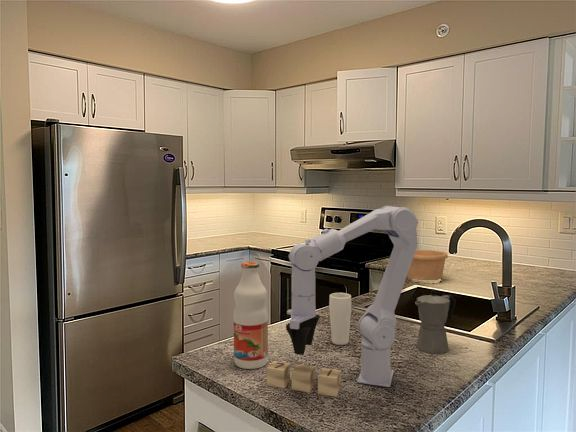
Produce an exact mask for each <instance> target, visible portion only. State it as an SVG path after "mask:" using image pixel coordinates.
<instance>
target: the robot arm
mask: <svg viewBox="0 0 576 432" xmlns="http://www.w3.org/2000/svg"><path fill="white" fill-rule="evenodd" d="M418 225H419V220H418V218H417V216H416V214H415V212H414V211H413V210H412V209H411V208H409V207H406V206H402V207H399V206H392V205H384V206H382V207H380V208H377V209H374V210H372V211H371V212H369V213H367V214H366V215H364V216H362V217H360V218H359V219H357V220H355V221H353V222H351V223H350V224H347V225H346V226H345V227H342V228H341V229H340V230H337V229H334V228H330V229H328V228H324V229H323V230H322V233H321V234H318V235H316V236H314V237H313V238H311V239H310V238H307V239H305V243H301V242H300V243H297V244H295V245H293V246H292V248H291V249H290V251H289V254H288V259H289V260H288V261H289V262H290V264H291V309H288V310H287V311H286V314H287V315H290V319H289V322H288V323H286V325H285V329H286V332H287V333H288V335H289V337H290V340H291V343H292V347H293V352H294V354H295V355H300V356H303V355H304V354H305V351H306V348H307V347H306V346H312V344H313V340H314V335H315V331H316V328H317V325H318V322H319V320H320V318H321V317H320V316H321V315H320V314H317V309H316V308H317V307H316V305H317V304H316V267H317V265H318V264H319V262H322V261H324V260H325V259H327V258H329V257H331V256H333V255H334V254H337V253H339V252H340V251H342V250H344V247H345V245H346V243H348V242H349V241H353V240H354V239H356V238H358V237H360V236H363V235H366V234H367V233H369V232H371V231H374V230H380V231H384V232H385V233H386V234H387V236H388V237H389V239H390V240H391V243H392V244H393V248H392V251H391V254H390V255H389V259H388V262H387V263H386V264H387V265H386V267H385V271H384V273H383V275H382V278H381V282H380V283H379V284H380V285H379V287H378V290H377V291H376V292H377V293H376V294H375V298H374V301H373V303H372V304H370V305H369V306H368V307H367V308H366V310H365V313H364V314H363V315H362V316H361V317H360V318H359V320H358V323H357V330H358V332H359V334H360V335H361V337H362V339H361V346H360V349H361V351H360V352H361V354H360V355H361V356H360V357H361V358H360V361H361V362H360V363H361V364H360V373H359V375H358V377H357V381H356V382H357V383H358V384H359V383H360V384H365V385H371V386H379V387H385V388H390V387H391V384H392V380H393V375H394V369H391V346H392V345H393V344H394V341H395V339H396V326H397V324H398V323H397V322H398V321H397V318H396V314H395V310H396V308H397V305H398V302H399V299H400V296H401V293H402V290H403V287H404V285H405V283H406V279H407V278H408V277H407V274H408V271H409V269H410V266H411V263H412V260H413V257H414V255H415V252H416V250H418V249H417V248H418V243H419V242H418V231H417V227H418Z"/></svg>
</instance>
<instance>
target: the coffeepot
mask: <svg viewBox="0 0 576 432" xmlns="http://www.w3.org/2000/svg"><path fill="white" fill-rule="evenodd" d="M436 294H437V290H436V289H434V288H433V289H430V294H429V295H426V294H425V295H421V296H419V297H416V301H415V302H414V303H415V305H416V306H417V309H418V317H419V321H420V326H419V329H418V330H419V331H418V334H417V340H416V344H415V346H416V348H417V349H418V350H419V351H421V352H423V353H426V354H432V355H439V354H440V355H441V354H446V353H447V352H448V350H449V341H448V336H447V329H446V328H445V324H446V323H447V322H450V321H452V318H453V314H454V311H455V307H456V304H457V303H456V302H457V300H456V298H455V296H454V295H453V294H448V295H447V294H443V295H441V296H440V295H436Z"/></svg>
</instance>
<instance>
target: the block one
mask: <svg viewBox="0 0 576 432" xmlns="http://www.w3.org/2000/svg"><path fill="white" fill-rule="evenodd" d="M341 389H342V370H339V369H331V368H326V367H323V368H322V369H320V371H319V373H318V375H317V394H318V395H323V396H330V397H338V395H339V392H340V391H341Z"/></svg>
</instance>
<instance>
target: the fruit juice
mask: <svg viewBox="0 0 576 432" xmlns="http://www.w3.org/2000/svg"><path fill="white" fill-rule="evenodd" d="M240 269H241V271H242V273H241V276H240V280H239V282H238V284H237V286H236V288H235V289H234V292H233V300H234V304H235V307H234V309H233V361H234V364H235V366H237V368H241V369H245V370H254V369H255V370H256V369H259V368H262V367H264V366H266V365H267V363H268V360H269V326H268V325H269V321H268V320H269V314H268V309H267V305H266V303H267V300H268V299H267V298H268V292H267V289H266V287H265V285H263V283H262V281H261V277H260V274H259V269H260V263H259V262H257V261H244V262H241V264H240Z"/></svg>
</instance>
